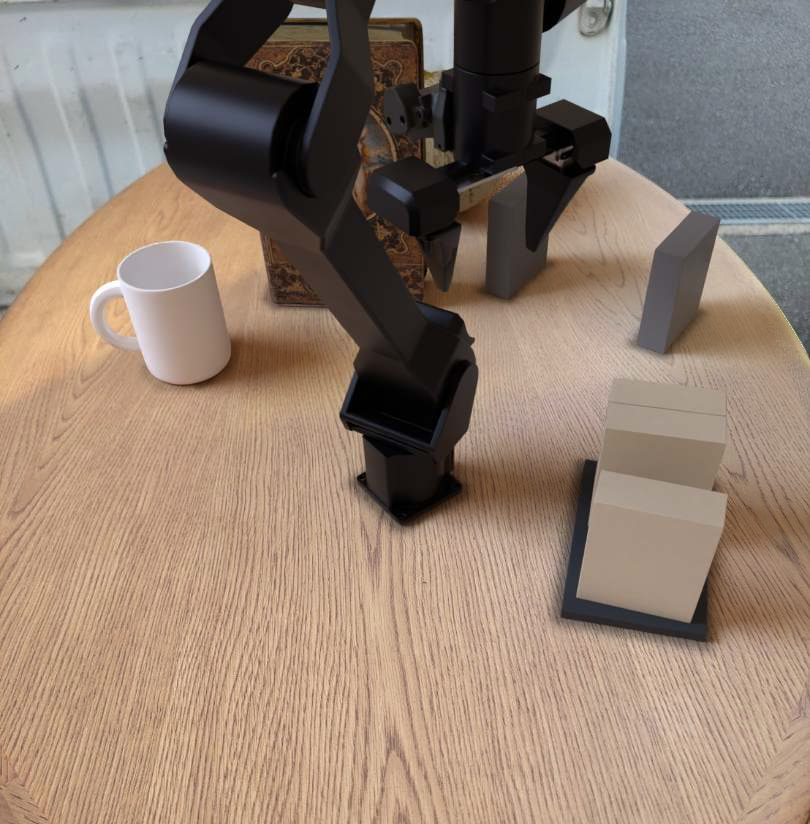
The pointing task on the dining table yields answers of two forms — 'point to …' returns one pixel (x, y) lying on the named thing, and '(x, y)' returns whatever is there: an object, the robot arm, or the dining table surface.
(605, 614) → the book mat
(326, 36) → the book
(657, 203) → the dining table surface
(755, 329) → the dining table surface
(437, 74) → the cantaloupe
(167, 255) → the mug
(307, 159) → the robot arm
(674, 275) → the grey books
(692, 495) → the cream book
